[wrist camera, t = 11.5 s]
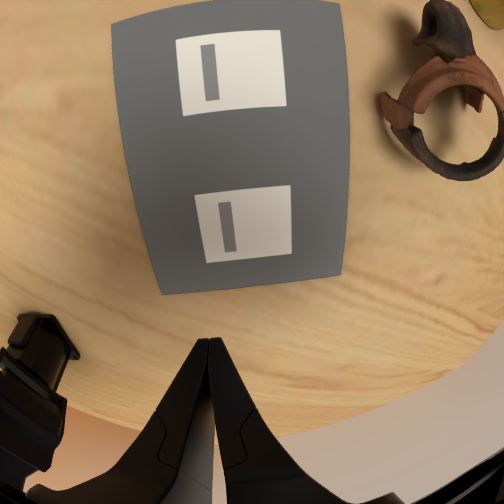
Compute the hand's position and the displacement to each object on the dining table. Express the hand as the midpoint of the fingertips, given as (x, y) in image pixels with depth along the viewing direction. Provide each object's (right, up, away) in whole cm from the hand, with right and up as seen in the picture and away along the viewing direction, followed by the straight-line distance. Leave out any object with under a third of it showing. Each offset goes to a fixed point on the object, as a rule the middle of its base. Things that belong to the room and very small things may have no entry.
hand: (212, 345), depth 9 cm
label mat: (+1, +9, +6) cm, 11 cm away
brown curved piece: (+14, +15, +4) cm, 21 cm away
